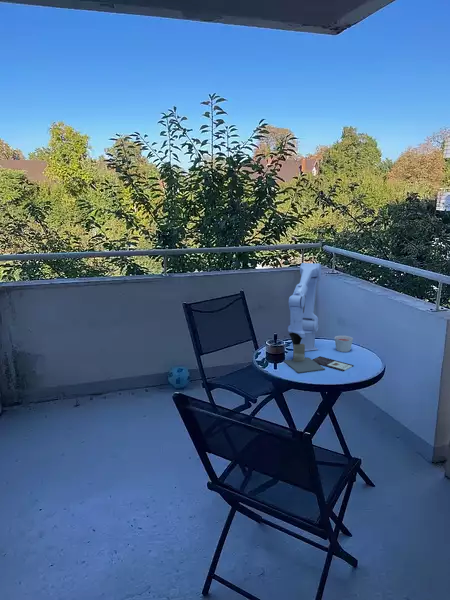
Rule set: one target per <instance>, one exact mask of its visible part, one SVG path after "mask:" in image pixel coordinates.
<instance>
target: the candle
mask: <svg viewBox="0 0 450 600" xmlns="http://www.w3.org/2000/svg"><path fill="white" fill-rule="evenodd" d="M353 340H354V338H353V337H352V336H350V335H336V336H334V344H335V349H336V351H338V352H342V353H348V352H350V351H351V349H352V345H353Z"/></svg>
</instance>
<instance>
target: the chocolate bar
mask: <svg viewBox="0 0 450 600" xmlns="http://www.w3.org/2000/svg"><path fill="white" fill-rule="evenodd" d="M311 359H312V358H311ZM312 360H313V361H314V362H316V363H317V364H319V365H320V366H322V367H325V368H329V369H332V370H337V371H339V372H345V371H348V370H349V369H351V368H353V367H354V366H355V365H354V364H350V363H347V362H344V361H343V362H342V361H339V360H336V359H332V358H328V357H325V356H322V355H321V356H319V355H318V356H317V357H315V358H313V359H312Z"/></svg>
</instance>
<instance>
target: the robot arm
mask: <svg viewBox="0 0 450 600" xmlns="http://www.w3.org/2000/svg"><path fill="white" fill-rule="evenodd" d="M299 274H300V280H299V283H297V284H296V285H295V288H294V291H293V293H292V295H290V296H289V298H288V307H289V312H290V317H289V318H290V321H289V323H290V325H288V326H287V332H289V333H288V335H289V338H290V339H291V343H292V346H293V345H295V344H305V352H309V351H311V352H312V351H318V350H319V349H318V348H317V347H316V346H315V345H316V344H315V343H316V342H315V341H316V333H317V332H318V330H319V317H318V316H317V315H316V314H315V313H314V312H315V302H316V295H317V294H316V293H317V283H318V281H321V277H322V265H321V263H319V262H318V263H314V262H313V263H311V262H310V263H309V262H308V263H307V262H302V263H301V264H300V265H299Z"/></svg>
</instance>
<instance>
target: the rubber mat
mask: <svg viewBox="0 0 450 600" xmlns="http://www.w3.org/2000/svg"><path fill="white" fill-rule="evenodd" d="M283 363H284V364H286V365H287V367H290V369H292V370H293V371H295V372H296V373H297V374H304V373H315V372H319V371H325V370H326V367H325V368H324V366H322V365H319V364H317V363H316V362H314V361H313V360H312V358H311V357H305V361H300V362H294V361H293V358H292V359H291V358H290V359H286V360H284V359H283Z"/></svg>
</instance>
